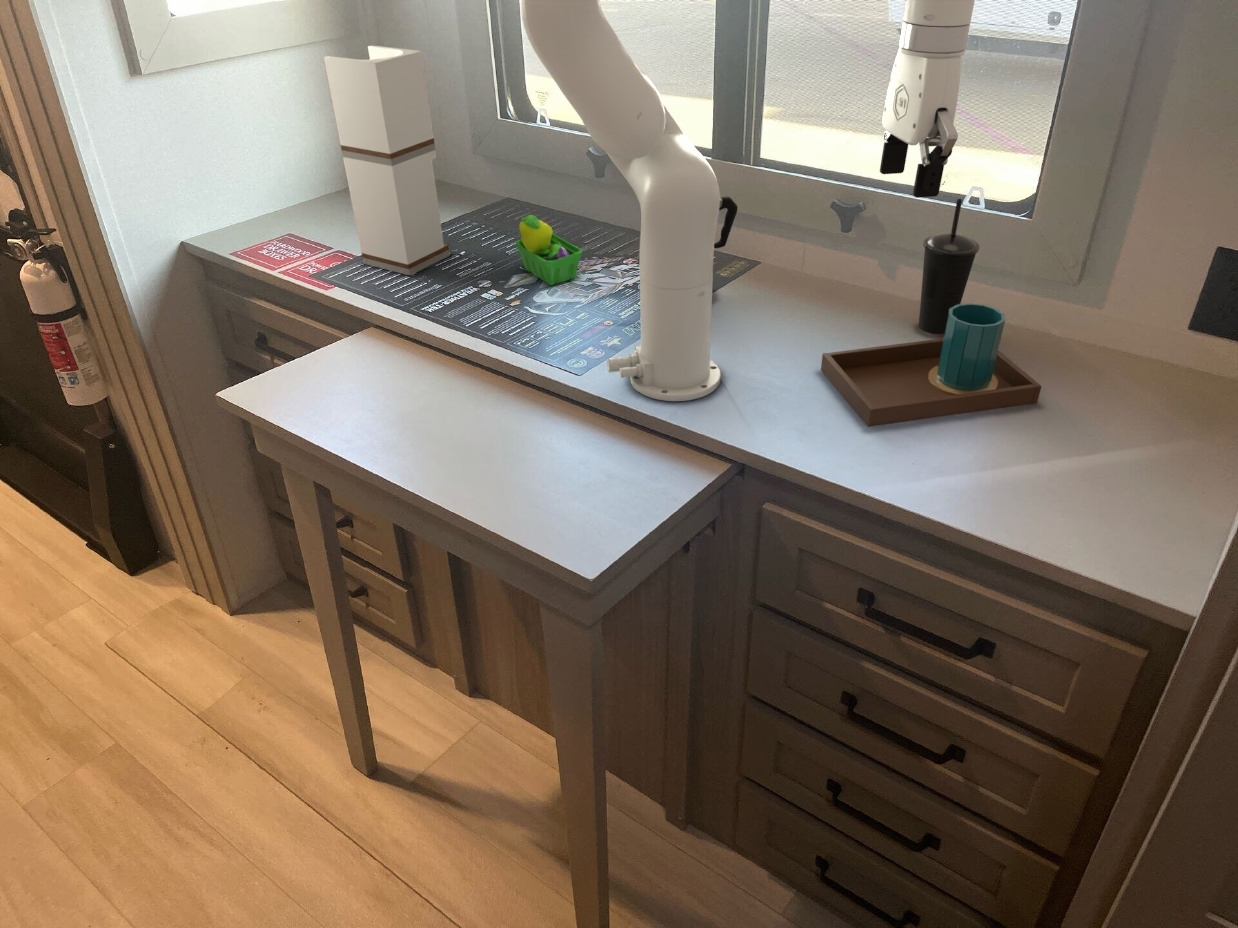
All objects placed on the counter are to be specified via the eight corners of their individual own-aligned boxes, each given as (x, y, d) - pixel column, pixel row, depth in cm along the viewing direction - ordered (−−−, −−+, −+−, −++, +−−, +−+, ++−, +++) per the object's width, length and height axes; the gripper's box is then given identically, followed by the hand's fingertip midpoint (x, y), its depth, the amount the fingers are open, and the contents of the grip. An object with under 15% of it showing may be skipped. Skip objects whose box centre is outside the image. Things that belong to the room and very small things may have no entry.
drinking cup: (964, 343, 135) (992, 210, 124) (910, 339, 136) (933, 207, 125) (959, 320, 141) (985, 192, 130) (907, 317, 143) (929, 190, 131)
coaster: (948, 400, 120) (949, 398, 120) (916, 369, 128) (916, 367, 128) (1011, 392, 122) (1011, 390, 122) (975, 361, 129) (976, 359, 129)
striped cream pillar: (449, 255, 169) (422, 51, 149) (409, 275, 162) (375, 63, 142) (404, 244, 174) (371, 45, 154) (363, 263, 167) (323, 57, 147)
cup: (952, 394, 121) (966, 328, 116) (927, 369, 127) (939, 306, 122) (1000, 387, 122) (1015, 322, 117) (973, 363, 128) (986, 300, 123)
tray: (867, 430, 116) (870, 409, 114) (820, 373, 129) (822, 353, 127) (1036, 406, 120) (1042, 386, 118) (974, 353, 132) (978, 333, 131)
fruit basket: (586, 278, 158) (583, 215, 152) (542, 291, 154) (536, 226, 148) (552, 259, 166) (548, 197, 160) (509, 271, 162) (503, 208, 156)
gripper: (873, 28, 114) (853, 166, 124) (938, 54, 100) (910, 208, 110) (929, 26, 115) (905, 163, 125) (1001, 51, 101) (968, 204, 111)
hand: (907, 184), depth 117 cm, fingers open, 9 cm apart
